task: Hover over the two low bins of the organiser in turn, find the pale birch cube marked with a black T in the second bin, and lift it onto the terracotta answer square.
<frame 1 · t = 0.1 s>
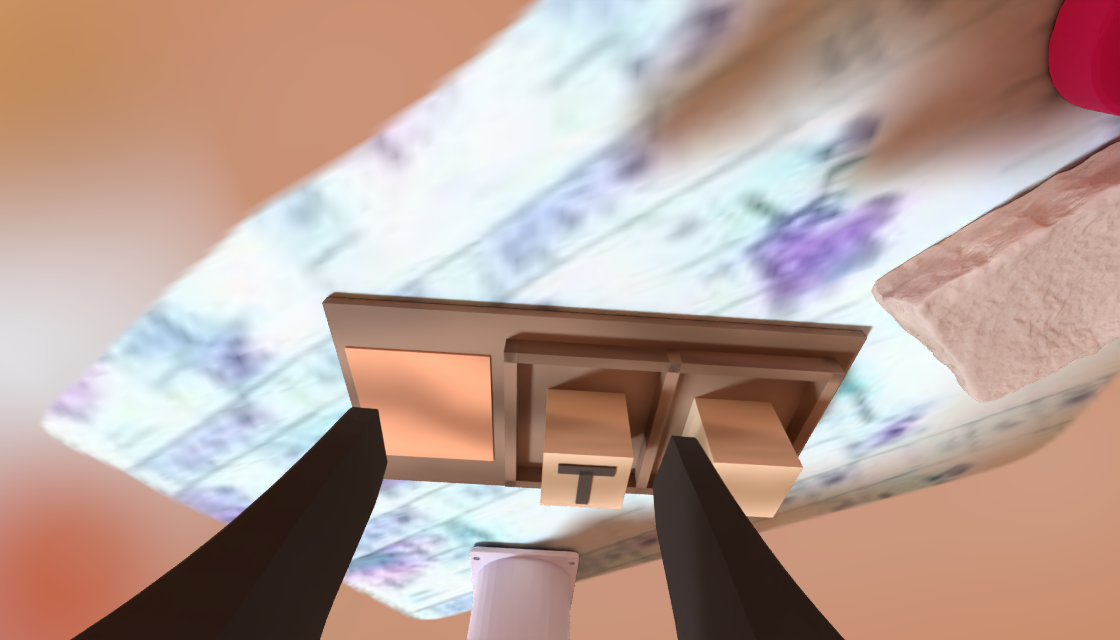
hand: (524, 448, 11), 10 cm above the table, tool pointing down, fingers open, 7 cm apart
blank cube: (722, 426, 25), resting on organiser
organiser: (584, 411, 25), on the table
tan faceted block: (1000, 253, 19), on the table
letter cube: (582, 417, 24), resting on organiser
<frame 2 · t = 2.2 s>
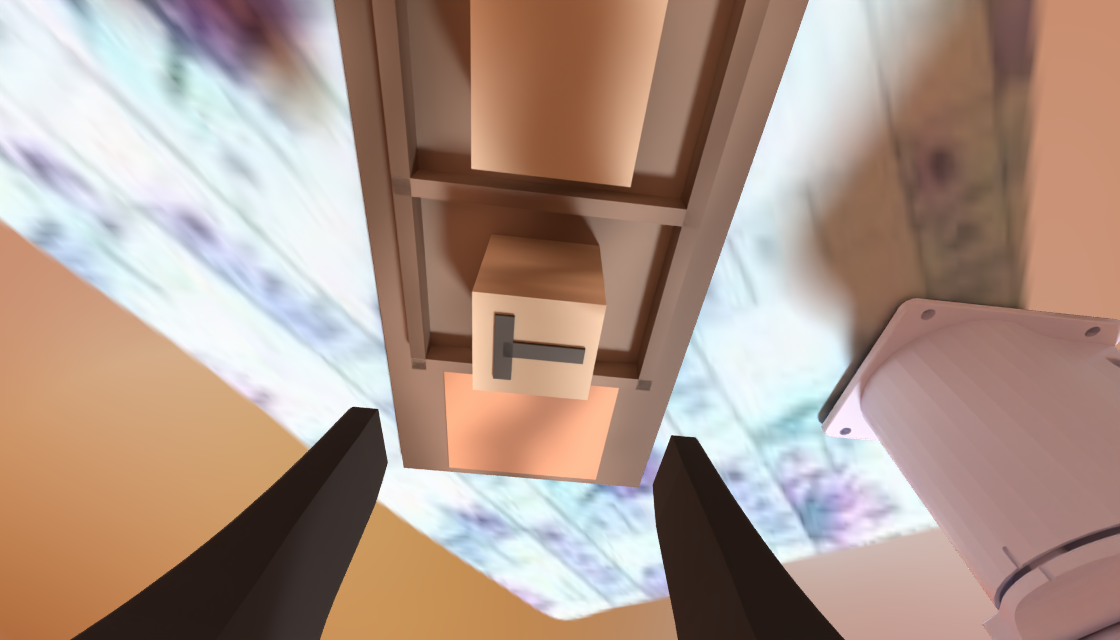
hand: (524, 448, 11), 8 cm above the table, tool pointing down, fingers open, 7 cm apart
blank cube: (562, 67, 13), resting on organiser
organiser: (542, 277, 18), on the table
letter cube: (541, 286, 18), resting on organiser
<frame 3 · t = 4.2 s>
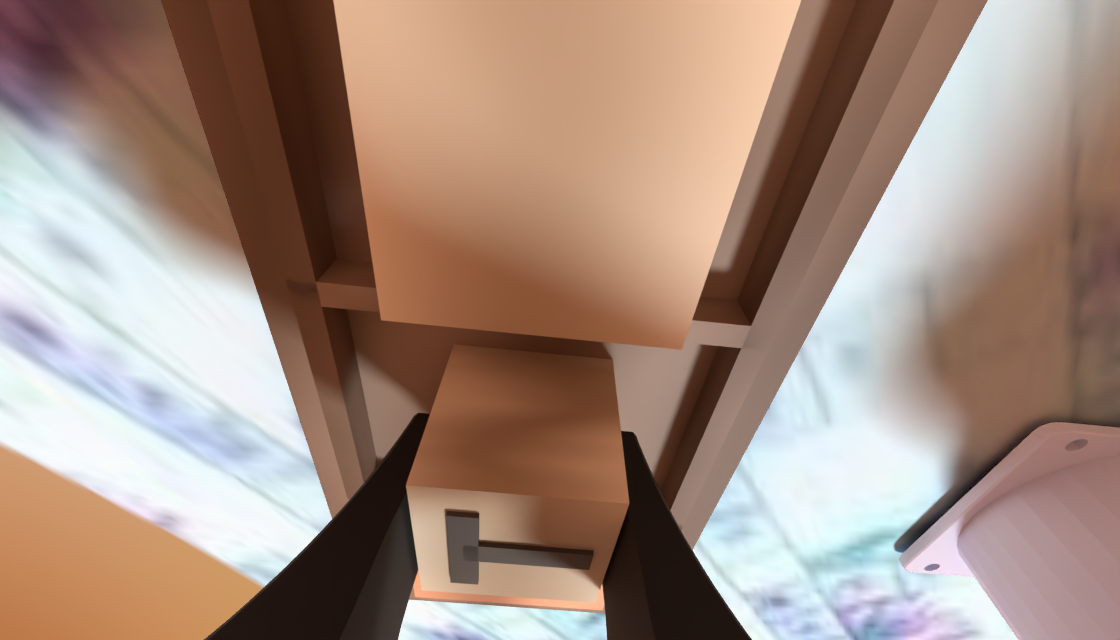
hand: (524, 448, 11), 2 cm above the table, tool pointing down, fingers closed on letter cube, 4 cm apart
blank cube: (557, 112, 8), resting on organiser
organiser: (530, 392, 13), on the table
letter cube: (528, 407, 12), resting on organiser, touching gripper
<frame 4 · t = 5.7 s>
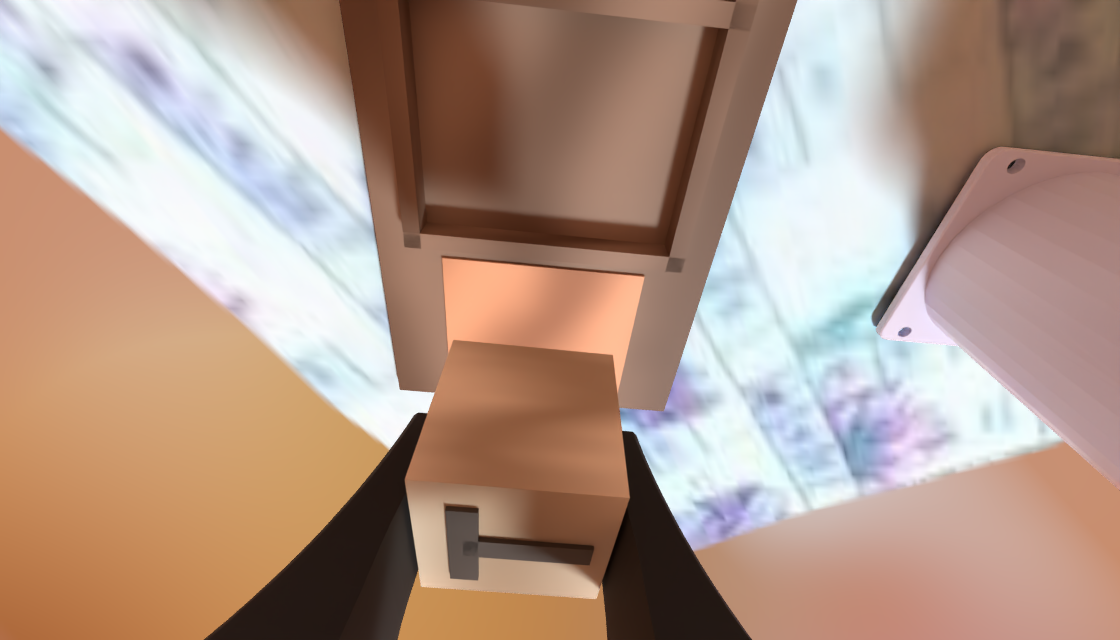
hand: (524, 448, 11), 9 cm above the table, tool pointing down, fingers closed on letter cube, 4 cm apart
organiser: (555, 130, 15), on the table
letter cube: (528, 403, 12), point 7 cm above the table, touching gripper
when the fingers open (3 cm above the table, at t = 7.4 s): letter cube drops 1 cm, resting on organiser.
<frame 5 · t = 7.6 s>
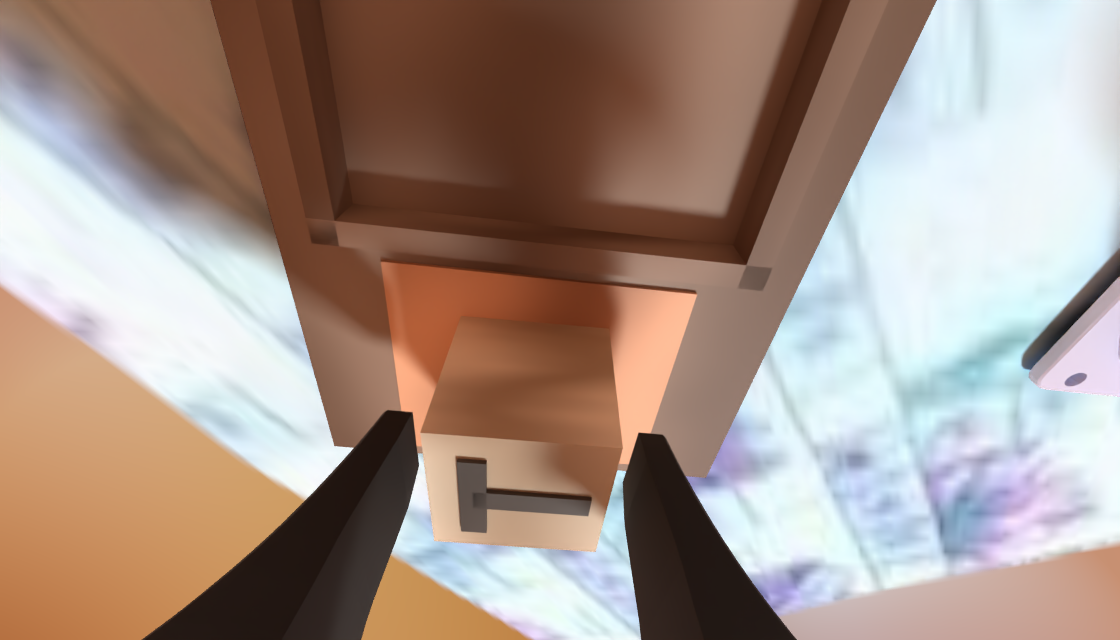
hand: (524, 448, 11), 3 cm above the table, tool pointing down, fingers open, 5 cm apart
organiser: (564, 45, 9), on the table
letter cube: (531, 377, 13), point 1 cm above the table, touching organiser
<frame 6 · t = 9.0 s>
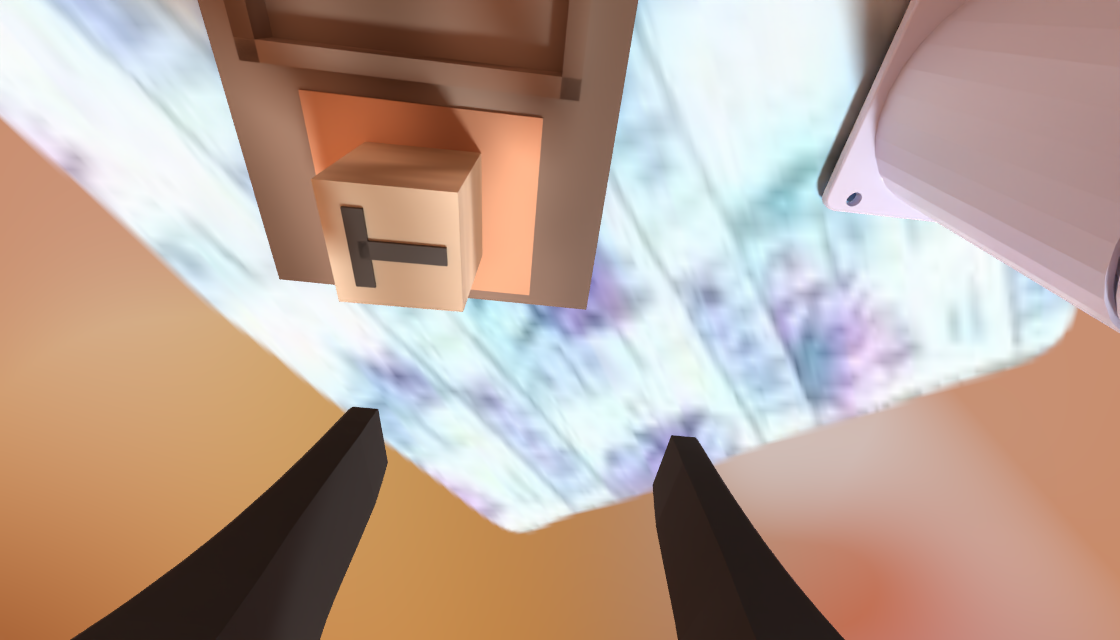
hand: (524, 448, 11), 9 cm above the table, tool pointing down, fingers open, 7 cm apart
letter cube: (428, 202, 17), point 1 cm above the table, touching organiser
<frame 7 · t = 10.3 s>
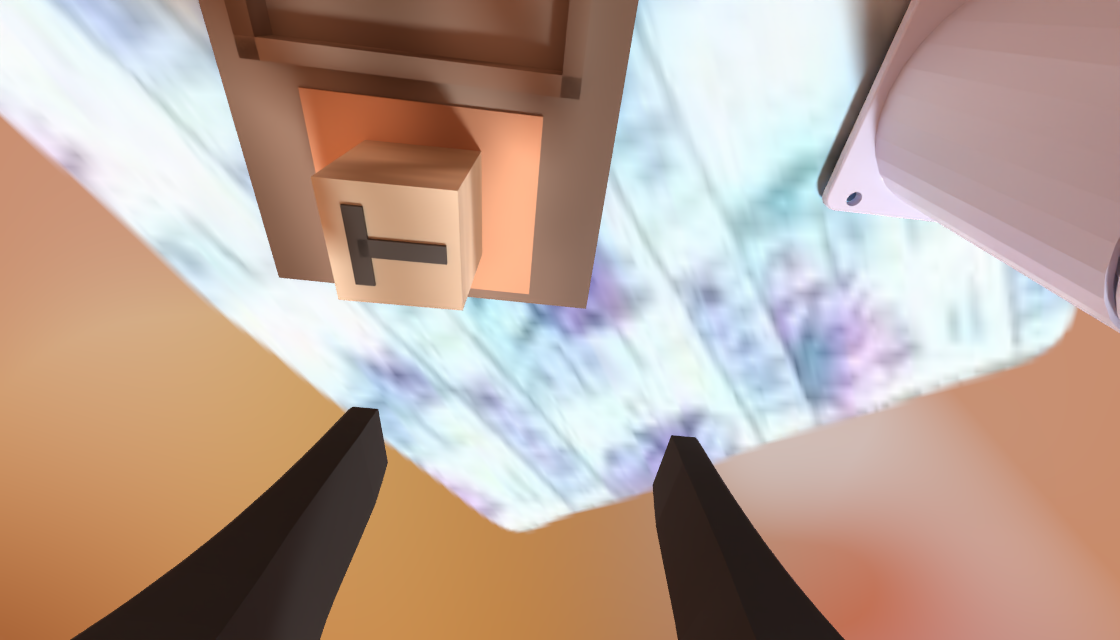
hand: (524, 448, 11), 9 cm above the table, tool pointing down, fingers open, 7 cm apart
letter cube: (428, 201, 17), point 1 cm above the table, touching organiser
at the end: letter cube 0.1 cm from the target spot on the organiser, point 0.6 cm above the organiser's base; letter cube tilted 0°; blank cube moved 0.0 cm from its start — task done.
